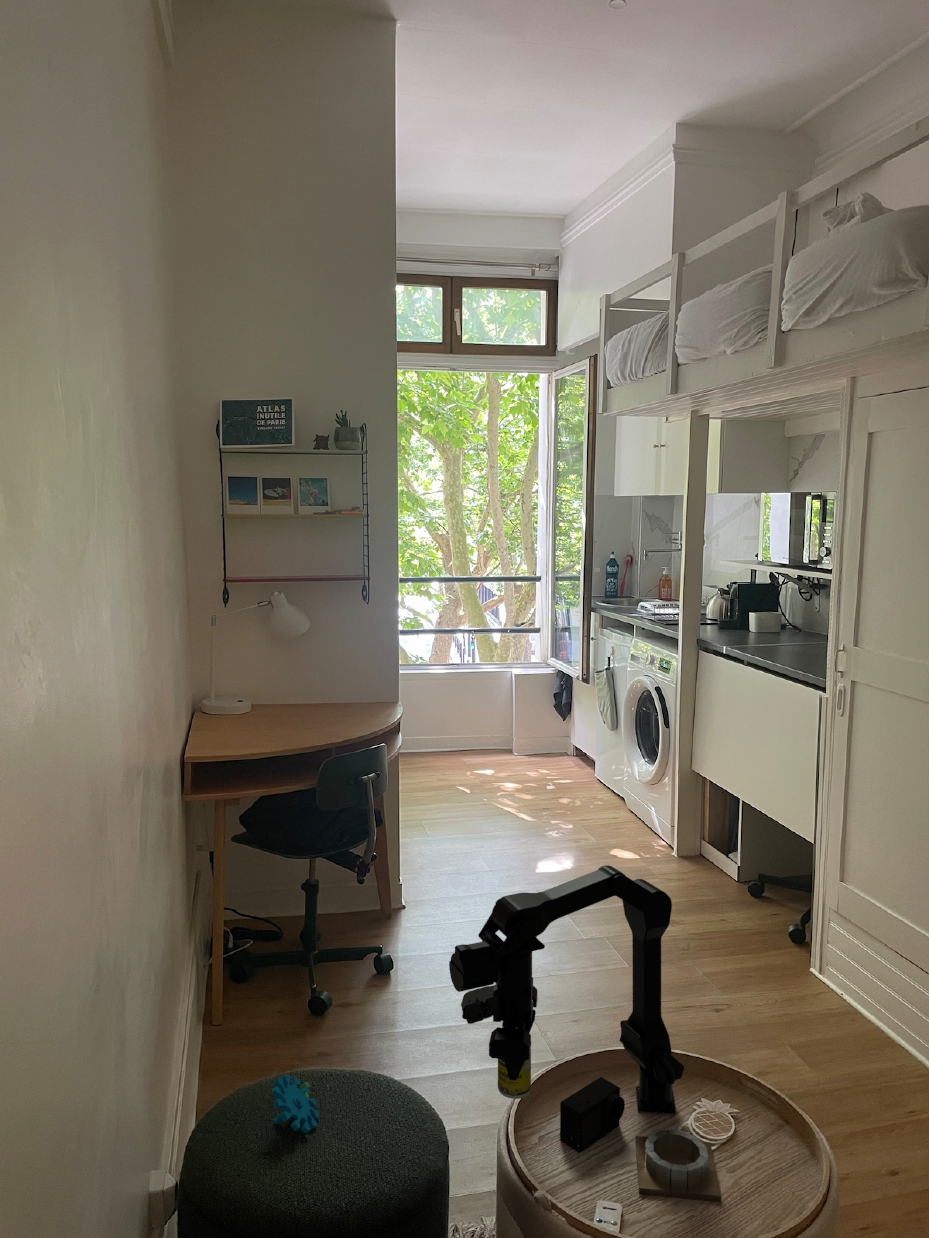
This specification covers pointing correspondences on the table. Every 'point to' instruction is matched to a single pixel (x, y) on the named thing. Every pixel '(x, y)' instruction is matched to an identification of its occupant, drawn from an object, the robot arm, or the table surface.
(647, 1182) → the collar holder
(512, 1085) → the supplement bottle
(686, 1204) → the table surface
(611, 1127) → the digital camera
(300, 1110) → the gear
